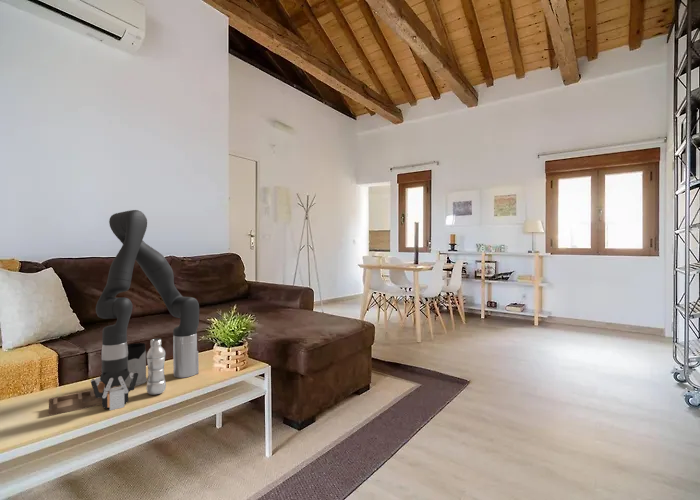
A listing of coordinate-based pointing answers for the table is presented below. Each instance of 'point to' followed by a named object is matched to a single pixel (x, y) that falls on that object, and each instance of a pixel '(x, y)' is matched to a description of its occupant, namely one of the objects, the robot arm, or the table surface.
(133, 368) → the glass holder
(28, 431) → the table surface
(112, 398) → the wood-topped grey cube
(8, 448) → the table surface
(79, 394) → the brown wooden rack
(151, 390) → the plastic bottle
